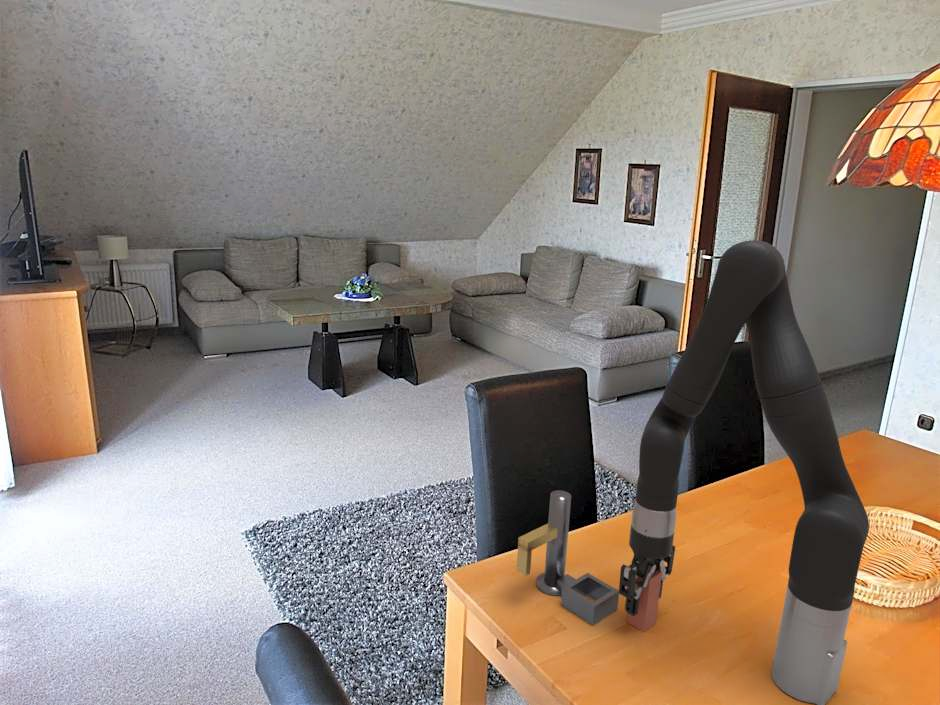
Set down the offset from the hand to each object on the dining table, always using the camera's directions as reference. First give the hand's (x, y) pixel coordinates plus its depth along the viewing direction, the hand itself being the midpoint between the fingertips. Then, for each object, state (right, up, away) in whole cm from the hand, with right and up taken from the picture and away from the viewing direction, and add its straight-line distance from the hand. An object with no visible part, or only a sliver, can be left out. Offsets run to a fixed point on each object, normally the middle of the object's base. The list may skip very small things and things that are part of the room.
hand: (643, 604), depth 124 cm
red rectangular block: (0, -4, +1) cm, 4 cm away
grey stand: (-14, -2, +6) cm, 16 cm away
